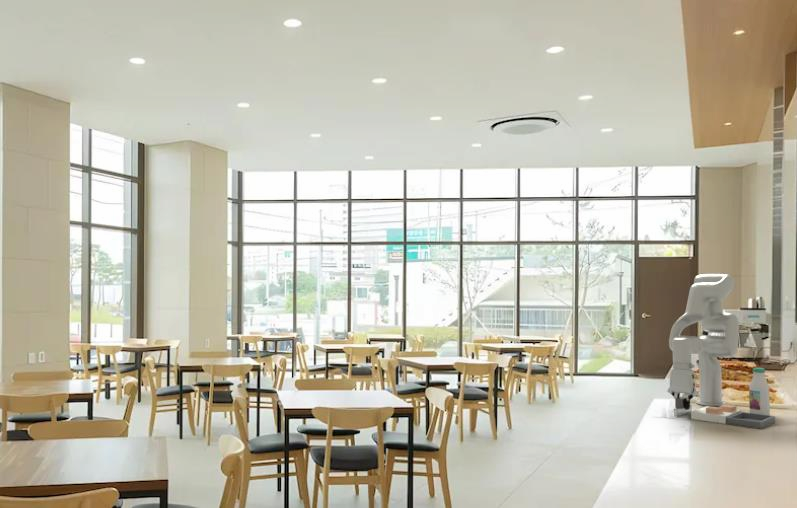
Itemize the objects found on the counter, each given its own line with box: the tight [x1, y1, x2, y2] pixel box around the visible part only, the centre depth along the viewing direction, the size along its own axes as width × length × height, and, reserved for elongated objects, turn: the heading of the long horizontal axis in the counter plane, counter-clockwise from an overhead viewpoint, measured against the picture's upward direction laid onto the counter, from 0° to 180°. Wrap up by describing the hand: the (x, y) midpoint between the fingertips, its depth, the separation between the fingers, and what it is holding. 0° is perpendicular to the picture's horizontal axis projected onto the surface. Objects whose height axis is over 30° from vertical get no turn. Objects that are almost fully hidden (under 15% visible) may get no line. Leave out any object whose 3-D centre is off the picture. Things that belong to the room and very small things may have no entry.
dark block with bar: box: [673, 395, 693, 417], centre depth 311 cm, size 15×3×7 cm, turn 135°
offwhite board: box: [690, 405, 741, 424], centre depth 301 cm, size 16×14×3 cm
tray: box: [726, 411, 776, 430], centre depth 291 cm, size 16×13×2 cm
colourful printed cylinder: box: [748, 367, 771, 416], centre depth 307 cm, size 8×8×20 cm
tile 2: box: [718, 404, 737, 412], centre depth 301 cm, size 5×5×2 cm
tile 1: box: [706, 406, 723, 414], centre depth 297 cm, size 5×5×2 cm
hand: (682, 408), depth 311 cm, fingers closed on dark block with bar, 3 cm apart
